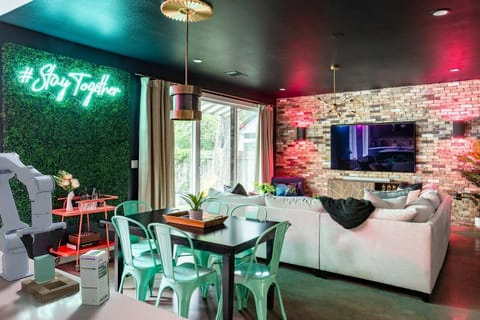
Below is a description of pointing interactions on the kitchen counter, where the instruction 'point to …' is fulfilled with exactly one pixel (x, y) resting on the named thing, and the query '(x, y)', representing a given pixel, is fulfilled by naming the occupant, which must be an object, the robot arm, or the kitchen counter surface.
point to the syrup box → (94, 277)
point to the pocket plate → (50, 287)
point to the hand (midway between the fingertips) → (43, 254)
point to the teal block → (44, 268)
